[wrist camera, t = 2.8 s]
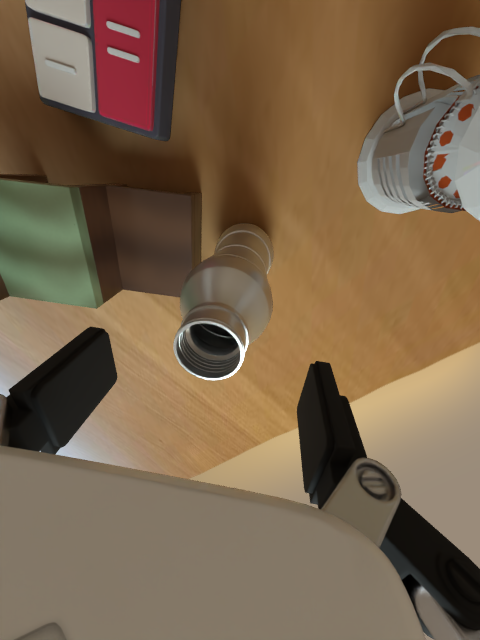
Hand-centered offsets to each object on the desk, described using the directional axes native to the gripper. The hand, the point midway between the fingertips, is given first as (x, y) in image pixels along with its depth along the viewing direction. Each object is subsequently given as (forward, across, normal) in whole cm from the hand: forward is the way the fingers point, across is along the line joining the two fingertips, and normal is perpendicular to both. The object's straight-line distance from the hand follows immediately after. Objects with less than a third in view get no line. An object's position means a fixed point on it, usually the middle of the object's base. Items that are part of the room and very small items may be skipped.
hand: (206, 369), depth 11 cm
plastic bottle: (+21, 0, 0) cm, 21 cm away
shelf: (+21, +19, 0) cm, 28 cm away
